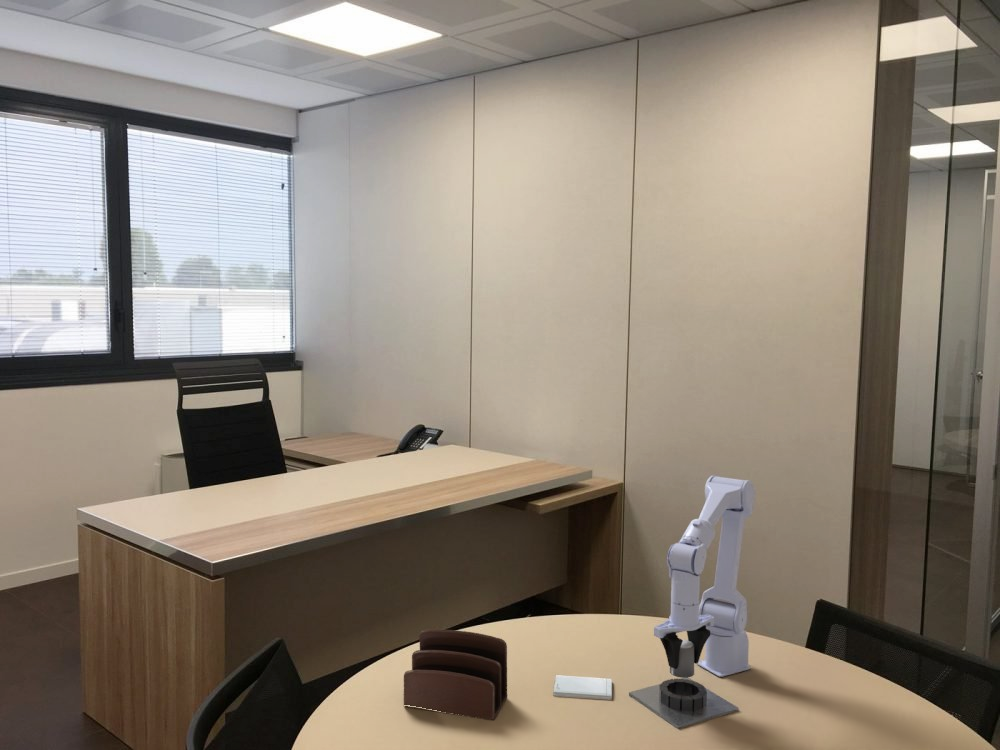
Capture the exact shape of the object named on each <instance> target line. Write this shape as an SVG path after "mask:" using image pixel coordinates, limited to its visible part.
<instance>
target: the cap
mask: <svg viewBox="0 0 1000 750" xmlns="http://www.w3.org/2000/svg"><path fill="white" fill-rule="evenodd" d="M680 639H681V640H683V642H682V644H681V647H680V652H679V663H678V668H677V669H674V668H672V667H670V666H669V673H670V674H671V675H672V676H674V677H677V678H680V679H681V678H687V677H688V678H691V677H694V676H695V663H694V644H693V643H692V642H690V641H688V639H683V638H680Z"/></svg>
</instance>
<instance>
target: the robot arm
mask: <svg viewBox="0 0 1000 750" xmlns="http://www.w3.org/2000/svg"><path fill="white" fill-rule="evenodd" d="M704 495H705V497H704V498H705V503H704V505H703V507H702V510H701V511H700V514H699V517H698V518H694V519H692V520H691V521H690V523H689V524H688V526H687V528H686V530H685V531H684V533H683V534H682V536H681V538H680V539H679V541H678V542H676V543H674V544H671V545H670V546H669V549H668V551H667V558H666V565H667V569H668V576H669V579H671V591H670V615H669V617H668V618H669V619H667V620H666V621H664V622H662V623H660V624H658V625H654V626H653V636H655V637H656V638H658V639H660V642H661V643H662V646H663V649H664V651H665V655H666V658H667V659H666V660H667V664H668V666H669V668H670V667H672V668H674V669H677V668H678V663H679V652H680V647H681V644H682V642H683V640H684V639H682V638H679V636H678V635H677V634H678V633H683V632H686V635H687V640H688V641H690V642H692V643H693V644H694V665H695V664H697V666H699V667H701V668H703V669H704V670H706V671H708V672H709V673H712V674H714V675H715V676H717V677H720V678H722V677H727V676H730V675H733V674H737V673H740V672H741V673H742V672H744V671H747V670H751V668H752V667H751V666H750V665H749V647H750V645H749V644H750V641H749V637H748V634H747V632H746V631H745V628H746V626H747V622H748V610H747V608H748V601H747V599H746V598H745V597H744V596H743V595H742V594H741V593H740V591H738V589H737V583H738V574H739V566H740V560H741V559H740V558H741V552H742V551H741V550H742V542H743V535H744V534H743V533H744V527H745V525H744V524H745V520H746V519H747V518H748V517H752V515H753V510H754V505H755V504H754V503H755V495H756V491H755V487H754V484H753V482H752V481H751V480H750V479H745V480H744V479H739V478H730V477H723V476H718V475H717V476H716V475H710V476H709V478H707V480H706V482H705V486H704ZM721 518H722V521H721V528H720V529H721V530H720V536H719V537H720V538H719V544H718V551H717V552H718V553H717V562H716V570H715V575H714V577H715V578H714V585H713V586H712V587H710V588H708V589H706V590H705V591H703V593H702V596H701V600H700V583H701V582H700V581H701V579H700V578H701V574H702V572H703V571H704V568H705V564H706V559H707V557H708V553H707V551H708V549H709V547H710V545H711V544H712V542H713V540H714V538H715V536H716V530H715V526H716V525H717V523H718V521H720V519H721ZM681 639H682V640H681ZM704 646H705V651H704V652H705V653H704V654H705V656H704V660H703V659H702V660H700V658H701V654H702V651H703V649H704Z"/></svg>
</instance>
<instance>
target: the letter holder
mask: <svg viewBox="0 0 1000 750" xmlns="http://www.w3.org/2000/svg"><path fill="white" fill-rule="evenodd" d="M507 645H508V644H507V642H506V641H505V640H504V639H502V638H500V637H497V636H496V637H495V636H492V635H489V634H484V633H478V632H472V631H466V630H464V631H463V630H453V629H423V630H421V631H420V632H419V649H418V650H415V651H413V653H411V654H412V655H411V670H406V671H405V672H404V674H403V706H404V705H410V706H416V707H422V708H426V709H432V710H437V711H441V712H446V713H445V714H449V713H453V714H452V715H455V714H457V716H462V715H464V716H463V717H468V716H470V717H469V718H475V717H477V718H476V719H481V718H483V719H484V720H490V721H495V720H496V718H497V717H498V715H499V714H500V711H501V710H502V708H503V707H504V705H505V703H506V701H507V700H508V646H507ZM441 712H440V713H441ZM458 714H459V715H458ZM483 719H482V720H483Z"/></svg>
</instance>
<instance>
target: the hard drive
mask: <svg viewBox="0 0 1000 750" xmlns="http://www.w3.org/2000/svg"><path fill="white" fill-rule="evenodd" d="M612 690H613V680H612V678H605V677H603V678H601V677H591V676H574V675H573V676H572V675H559V674H556V675H555V679H554V686H553V693H552V696H553V697H563V698H580V699H595V700H596V699H597V700H609V701H612V699H613V694H612V693H613V691H612Z"/></svg>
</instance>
